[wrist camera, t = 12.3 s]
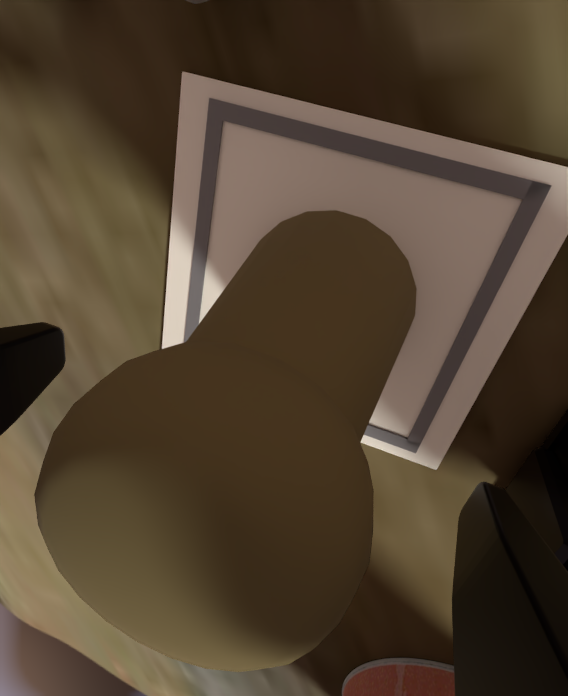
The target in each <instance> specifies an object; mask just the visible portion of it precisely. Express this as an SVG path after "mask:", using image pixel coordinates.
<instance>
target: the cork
mask: <svg viewBox="0 0 568 696" xmlns="http://www.w3.org/2000/svg"><path fill="white" fill-rule="evenodd" d="M416 290H417V288H416V285H415V281H414V278H413V275H412V271H411V268H410V265H409V261H408V260H407V258H406V257H405V255H404V254H403V253H402V251H401V250H400V249H399V247H398V246H397V244H396V243H395V242H394V240H393V239H392V238H391V236H389V235H388V234H386V233H385V232H384V231H382V230H381V229H379V228H378V227H376V226H375V225H374V224H372V223H371V222H369V221H368V220H367V219H364V218H361V217H358V216H354V215H351V214H347V213H344V212H341V211H337V210H330V211H307V212H304V213H302V214H299V215H297V216H294V217H292V218H289V219H287V220H284V221H282V222H280V223H279V224H278V225H277V226H275V227H274V228H273V229H272V230H271V231H270V232H269V233H267V234H266V235H265V236H264V237H263V238H262V239H261V240H260V241H259V242H258V244H257V245H256V247H255V248H254V249H253V251H252V252H251V253H250V255H249V256H248V258H247V259H246V260H245V262H244V263H243V264H242V266H241V267H240V268H239V270H238V271H237V273H236V274H235V275H234V277H233V278H232V279H231V281H230V282H229V284H228V285H227V286H226V288H225V289H224V290H223V292H222V293H221V295H220V296H219V297H218V299H217V300H216V301H215V303H214V304H213V305H212V307H211V308H210V310H209V311H208V312H207V314H206V315H205V316H204V318H203V319H202V321H201V322H200V323H199V325H198V326H197V327H196V329H195V330H194V332H193V333H192V334H191V336H190V337H189V338H188V340H187V341H186V342H184V343H181V344H177V345H174V346H170V347H167V348H164V349H160V350H157V351H153V352H151V353H148V354H145V355H142V356H140V357H137V358H134V359H131V360H128V361H126V362H125V363H123V364H122V365H121V366H119V367H118V368H117V369H115V370H114V371H113V372H112V373H110V374H109V375H108V376H106V377H105V378H104V379H102V380H101V381H100V382H99V383H98V384H96V385H95V386H94V387H93V388H92V389H91V390H90V391H88V392H87V393H86V394H85V395H84V396H83V397H81V398H80V399H79V400H78V401H77V402H76V403H75V404H73V406H72V407H71V409H70V410H69V411H68V413H67V414H66V416H65V417H64V418H63V420H62V421H61V423H60V424H59V425H58V427H57V428H56V430H55V431H54V433H53V436H52V438H51V441H50V444H49V447H48V450H47V453H46V455H45V458H44V461H43V464H42V468H41V472H40V475H39V479H38V483H37V487H36V490H35V494H34V495H35V503H36V511H37V519H38V526H39V528H40V531H41V533H42V536H43V538H44V541H45V543H46V545H47V547H48V550H49V552H50V554H51V556H52V558H53V560H54V562H55V564H56V566H57V568H58V570H59V572H60V573H61V574H62V576H63V577H64V578H65V579H66V581H67V582H68V583H69V584H70V586H71V587H72V588H73V590H74V591H75V592H76V593H77V595H78V596H79V597H80V598H81V599H82V600H83V601H84V602H85V603H87V604H88V605H89V606H90V607H91V608H92V609H93V610H94V611H95V612H97V613H98V614H99V615H100V616H101V617H102V618H103V619H104V620H105V621H107V622H108V623H110V624H111V625H113V626H114V627H116V628H117V629H119V630H120V631H122V632H123V633H125V634H126V635H128V636H129V637H131V638H132V639H134V640H135V641H137V642H138V643H140V644H143V645H145V646H147V647H149V648H151V649H153V650H155V651H157V652H159V653H161V654H164V655H166V656H168V657H170V658H172V659H176V660H179V661H182V662H186V663H189V664H192V665H196V666H199V667H202V668H206V669H215V670H225V671H235V672H242V671H250V670H258V669H264V668H270V667H276V666H282V665H288V664H290V663H292V662H293V661H295V660H297V659H298V658H300V657H302V656H303V655H305V654H307V653H308V652H310V651H311V650H313V649H314V648H315V647H316V646H317V645H318V644H319V643H320V642H321V641H322V640H323V639H324V638H325V637H327V636H328V635H329V634H330V633H331V632H332V631H333V630H334V629H335V628H336V627H337V626H338V625H339V623H340V621H341V619H342V618H343V616H344V614H345V612H346V610H347V608H348V607H349V605H350V603H351V601H352V599H353V598H354V596H355V594H356V591H357V589H358V587H359V585H360V583H361V580H362V578H363V576H364V574H365V571H366V569H367V567H368V565H369V561H370V553H371V544H372V535H373V486H372V481H371V476H370V470H369V465H368V462H367V459H366V457H365V454H364V452H363V449H362V447H361V444H360V442H361V440H362V437H363V435H364V433H365V430H366V428H367V426H368V424H369V421H370V419H371V417H372V414H373V412H374V410H375V407H376V405H377V403H378V401H379V398H380V396H381V394H382V391H383V389H384V387H385V384H386V382H387V380H388V378H389V375H390V373H391V371H392V368H393V366H394V364H395V361H396V359H397V357H398V355H399V352H400V350H401V348H402V345H403V343H404V341H405V338H406V336H407V334H408V331H409V329H410V327H411V324H412V322H413V319H414V317H415V309H416Z"/></svg>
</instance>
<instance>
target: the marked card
mask: <svg viewBox="0 0 568 696" xmlns="http://www.w3.org/2000/svg"><path fill="white" fill-rule="evenodd" d="M330 210H337V211H341V212H344V213H347V214H351V215H354V216H358V217H361V218H364V219H367V220H368V221H369V222H371V223H372V224H374V225H375V226H376V227H378V228H379V229H381V230H382V231H384V232H385V233H386V234H388V235H389V236H391V238H392V239H393V240H394V242H395V243H396V244H397V246H398V247H399V249H400V250H401V251H402V253H403V254H404V255H405V257H406V258H407V260H408V261H409V265H410V268H411V271H412V275H413V278H414V281H415V285H416V288H417V290H416V309H415V317H414V319H413V322H412V324H411V327H410V329H409V331H408V334H407V336H406V338H405V341H404V343H403V345H402V348H401V350H400V352H399V355H398V357H397V359H396V361H395V364H394V366H393V368H392V371H391V373H390V375H389V378H388V380H387V382H386V384H385V387H384V389H383V391H382V394H381V396H380V398H379V401H378V403H377V405H376V407H375V410H374V412H373V414H372V417H371V419H370V421H369V424H368V426H367V428H366V430H365V433H364V435H363V437H362V440H361V443H364V444H366V445H369V446H372V447H375V448H377V449H380V450H383V451H386V452H388V453H391V454H394V455H397V456H399V457H402V458H405V459H408V460H410V461H413V462H416V463H418V464H421V465H424V466H427V467H429V468H432V469H435V470H437V468H438V466H439V465H440V463H441V461H442V459H443V458H444V456H445V454H446V452H447V450H448V449H449V447H450V445H451V443H452V441H453V440H454V438H455V436H456V434H457V432H458V431H459V429H460V427H461V425H462V423H463V422H464V420H465V418H466V416H467V414H468V413H469V411H470V409H471V407H472V405H473V404H474V402H475V400H476V398H477V396H478V395H479V393H480V391H481V389H482V387H483V386H484V384H485V382H486V380H487V379H488V377H489V375H490V373H491V371H492V370H493V368H494V366H495V364H496V362H497V361H498V359H499V357H500V355H501V353H502V352H503V350H504V348H505V346H506V344H507V343H508V341H509V339H510V337H511V335H512V334H513V332H514V330H515V328H516V326H517V325H518V323H519V321H520V319H521V317H522V316H523V314H524V312H525V310H526V308H527V307H528V305H529V303H530V301H531V300H532V298H533V296H534V294H535V292H536V291H537V289H538V287H539V285H540V283H541V282H542V280H543V278H544V276H545V274H546V273H547V271H548V269H549V267H550V265H551V264H552V262H553V260H554V258H555V256H556V255H557V253H558V251H559V249H560V247H561V246H562V244H563V242H564V240H565V238H566V237H567V235H568V167H565V166H561V165H557V164H553V163H549V162H545V161H541V160H537V159H533V158H529V157H525V156H521V155H517V154H513V153H509V152H505V151H501V150H497V149H493V148H489V147H485V146H481V145H477V144H473V143H469V142H465V141H461V140H457V139H453V138H449V137H445V136H441V135H437V134H433V133H429V132H425V131H421V130H417V129H413V128H409V127H405V126H401V125H397V124H393V123H389V122H385V121H380V120H376V119H372V118H368V117H364V116H360V115H356V114H352V113H348V112H344V111H340V110H336V109H332V108H328V107H324V106H320V105H316V104H312V103H308V102H304V101H300V100H296V99H292V98H288V97H284V96H280V95H276V94H272V93H268V92H264V91H260V90H256V89H252V88H248V87H244V86H240V85H236V84H232V83H228V82H224V81H220V80H216V79H212V78H208V77H204V76H199V75H195V74H191V73H187V72H183V71H182V80H181V94H180V107H179V121H178V135H177V148H176V162H175V176H174V190H173V203H172V217H171V231H170V244H169V258H168V272H167V286H166V299H165V313H164V327H163V340H162V349H164V348H167V347H170V346H174V345H177V344H181V343H184V342H186V341H187V340H188V338H189V337H190V336H191V334H192V333H193V332H194V330H195V329H196V327H197V326H198V325H199V323H200V322H201V321H202V319H203V318H204V316H205V315H206V314H207V312H208V311H209V310H210V308H211V307H212V305H213V304H214V303H215V301H216V300H217V299H218V297H219V296H220V295H221V293H222V292H223V290H224V289H225V288H226V286H227V285H228V284H229V282H230V281H231V279H232V278H233V277H234V275H235V274H236V273H237V271H238V270H239V268H240V267H241V266H242V264H243V263H244V262H245V260H246V259H247V258H248V256H249V255H250V253H251V252H252V251H253V249H254V248H255V247H256V245H257V244H258V242H259V241H260V240H261V239H262V238H263V237H264V236H265V235H266V234H267V233H269V232H270V231H271V230H272V229H273V228H274V227H275V226H277V225H278V224H279V223H280V222H282V221H284V220H287V219H289V218H292V217H294V216H297V215H299V214H302V213H304V212H307V211H330Z"/></svg>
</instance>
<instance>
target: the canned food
mask: <svg viewBox="0 0 568 696" xmlns="http://www.w3.org/2000/svg"><path fill="white" fill-rule="evenodd" d="M342 696H455V684H454V666H453V665H450V664H446V663H441V662H437V661H431V660H425V659H417V658H386V659H379V660H375V661H371V662H368V663H365V664H363V665H361V666H359V667H357V668H355V669H354V670H353V671H351V672H350V673H349V674H348V676H347V677H346V678H345V681H344V683H343V687H342Z"/></svg>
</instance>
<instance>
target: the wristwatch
mask: <svg viewBox="0 0 568 696" xmlns="http://www.w3.org/2000/svg"><path fill="white" fill-rule="evenodd" d="M185 1H188V2H191V3H194V4H198V3H203V2H207V1H209V0H185Z"/></svg>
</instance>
